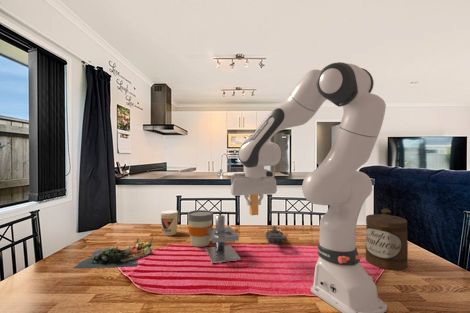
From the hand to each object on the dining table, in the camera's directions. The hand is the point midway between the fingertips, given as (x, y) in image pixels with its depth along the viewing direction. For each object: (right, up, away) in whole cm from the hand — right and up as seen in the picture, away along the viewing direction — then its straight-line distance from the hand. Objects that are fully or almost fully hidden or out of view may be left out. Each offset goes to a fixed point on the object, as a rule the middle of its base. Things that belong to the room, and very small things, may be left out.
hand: (253, 204), depth 112 cm
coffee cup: (-44, -22, +30) cm, 58 cm away
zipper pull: (+12, -22, +16) cm, 30 cm away
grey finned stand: (-14, -22, +1) cm, 26 cm away
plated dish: (-57, -23, -1) cm, 61 cm away
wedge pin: (0, -4, 0) cm, 4 cm away
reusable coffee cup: (-25, -22, +15) cm, 37 cm away
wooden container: (+54, -23, -6) cm, 59 cm away
